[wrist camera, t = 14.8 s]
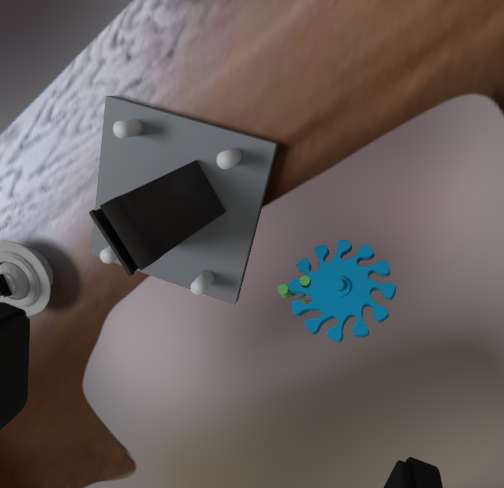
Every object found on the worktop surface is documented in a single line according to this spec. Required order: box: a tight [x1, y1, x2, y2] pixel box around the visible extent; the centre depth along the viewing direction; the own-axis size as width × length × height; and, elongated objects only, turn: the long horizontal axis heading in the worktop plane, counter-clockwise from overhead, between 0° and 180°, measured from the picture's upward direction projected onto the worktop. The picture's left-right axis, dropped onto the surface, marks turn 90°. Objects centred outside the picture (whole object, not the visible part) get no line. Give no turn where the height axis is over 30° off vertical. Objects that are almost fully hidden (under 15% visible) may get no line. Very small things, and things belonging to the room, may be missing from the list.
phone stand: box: [89, 160, 226, 276], centre depth 38 cm, size 9×6×12 cm, turn 120°
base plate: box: [91, 96, 278, 305], centre depth 43 cm, size 18×18×4 cm
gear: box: [278, 240, 396, 342], centre depth 41 cm, size 11×6×10 cm
